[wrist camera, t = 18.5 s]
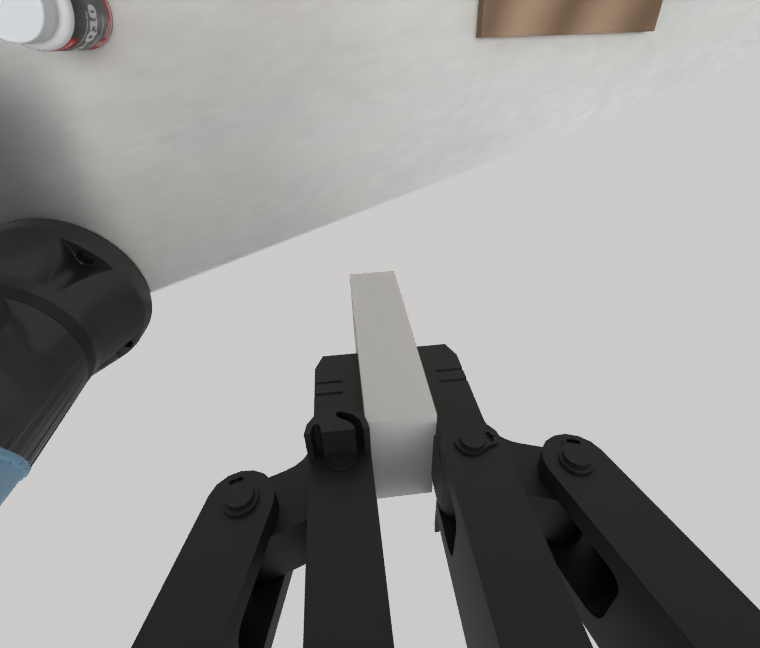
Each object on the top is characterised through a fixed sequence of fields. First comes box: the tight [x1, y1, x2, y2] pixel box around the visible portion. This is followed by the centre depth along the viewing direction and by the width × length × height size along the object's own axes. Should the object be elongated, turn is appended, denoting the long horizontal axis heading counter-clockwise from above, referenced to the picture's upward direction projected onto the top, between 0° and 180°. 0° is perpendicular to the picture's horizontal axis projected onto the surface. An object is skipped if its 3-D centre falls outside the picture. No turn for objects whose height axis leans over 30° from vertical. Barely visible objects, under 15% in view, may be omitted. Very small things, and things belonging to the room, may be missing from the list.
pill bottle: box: [0, 0, 112, 51], centre depth 26 cm, size 5×5×8 cm
